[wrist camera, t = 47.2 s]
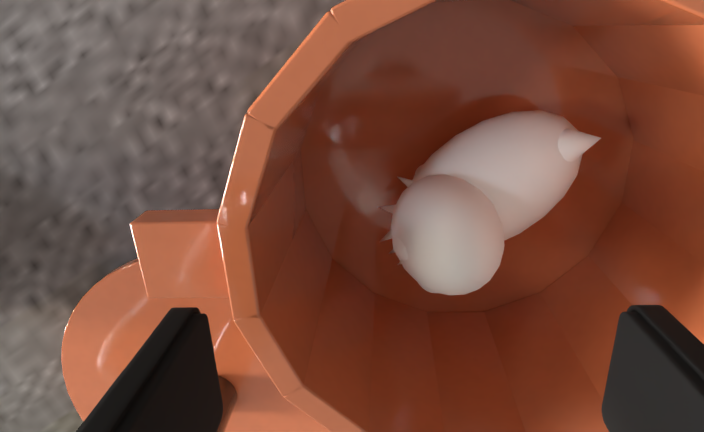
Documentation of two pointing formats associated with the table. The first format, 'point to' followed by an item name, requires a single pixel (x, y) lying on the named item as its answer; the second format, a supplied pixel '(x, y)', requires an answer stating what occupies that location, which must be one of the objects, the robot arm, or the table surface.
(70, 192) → the table surface
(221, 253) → the pot
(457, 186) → the toy creature
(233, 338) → the lid
